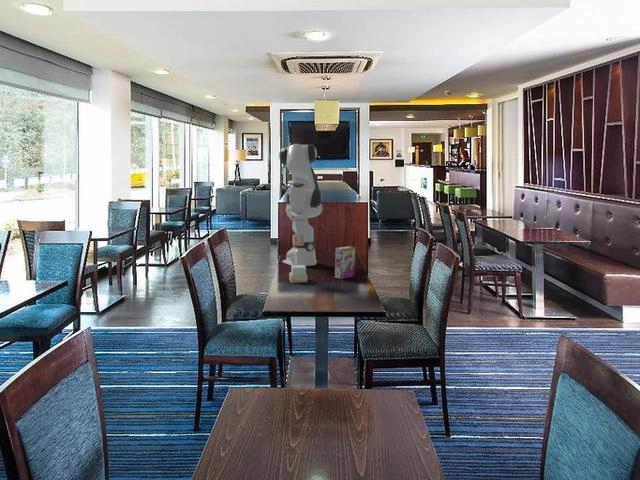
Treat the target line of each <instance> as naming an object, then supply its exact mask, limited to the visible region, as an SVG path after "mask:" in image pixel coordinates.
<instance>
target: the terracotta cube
mask: <svg viewBox="0 0 640 480" xmlns="http://www.w3.org/2000/svg"><path fill="white" fill-rule="evenodd" d="M292 245H293V247H294V246H304V236H303V235H301V242H297V235H295V234H292Z"/></svg>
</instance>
